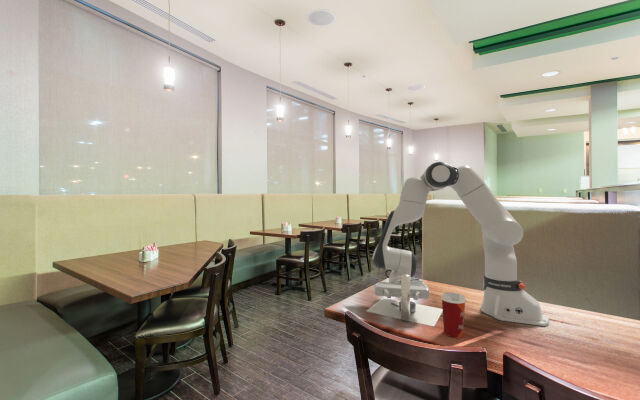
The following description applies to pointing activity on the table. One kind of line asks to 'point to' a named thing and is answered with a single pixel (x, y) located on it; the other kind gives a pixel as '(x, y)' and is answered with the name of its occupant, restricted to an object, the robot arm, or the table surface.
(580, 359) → the table surface
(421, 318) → the board
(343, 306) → the table surface
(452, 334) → the paper cup
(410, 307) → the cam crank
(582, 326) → the table surface
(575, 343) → the table surface
